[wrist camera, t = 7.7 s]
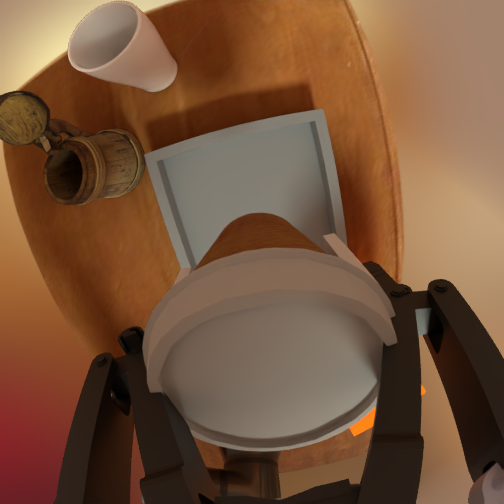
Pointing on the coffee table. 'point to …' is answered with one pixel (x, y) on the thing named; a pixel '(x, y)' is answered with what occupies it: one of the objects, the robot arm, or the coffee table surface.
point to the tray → (248, 181)
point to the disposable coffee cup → (269, 340)
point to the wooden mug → (72, 152)
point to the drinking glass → (122, 48)
